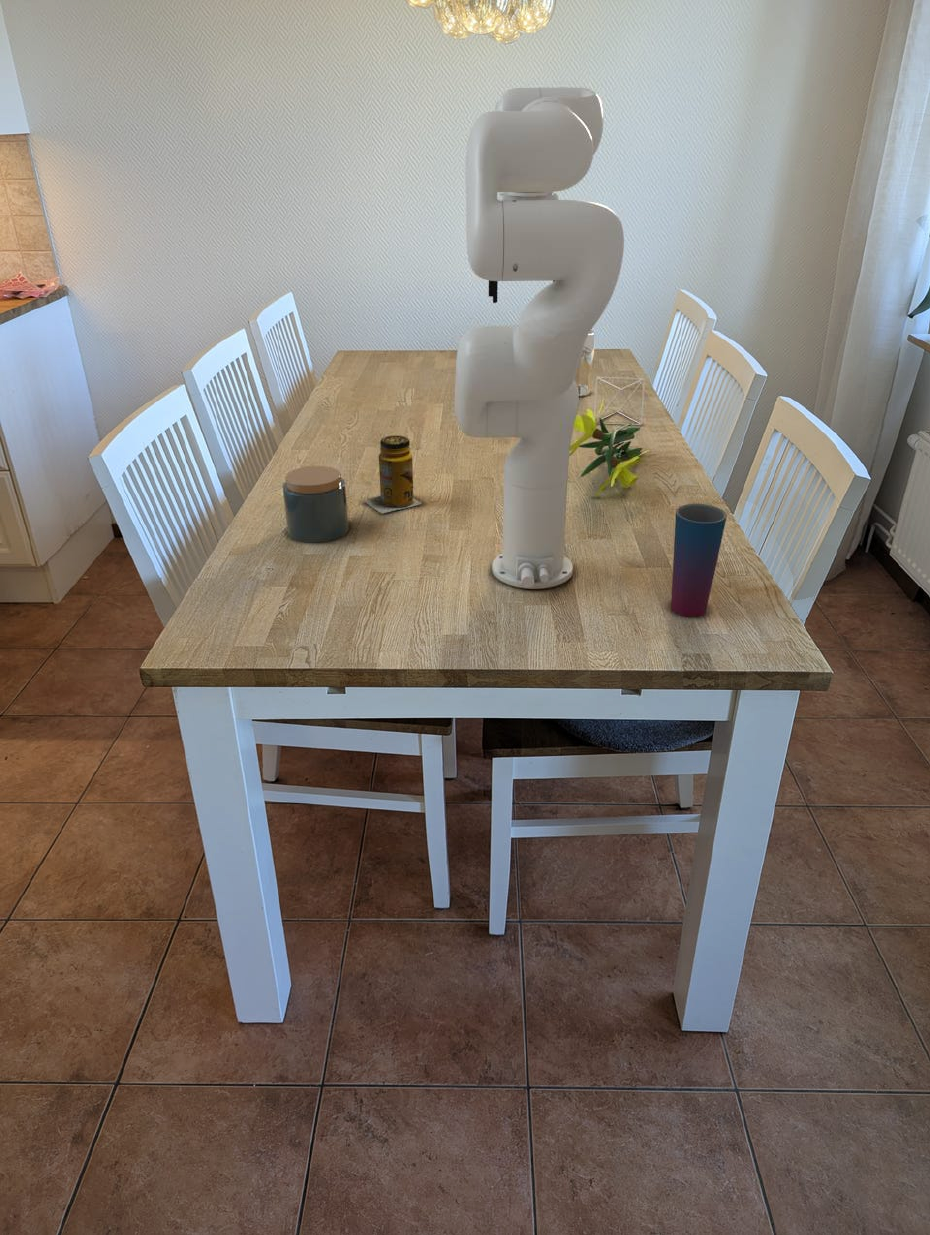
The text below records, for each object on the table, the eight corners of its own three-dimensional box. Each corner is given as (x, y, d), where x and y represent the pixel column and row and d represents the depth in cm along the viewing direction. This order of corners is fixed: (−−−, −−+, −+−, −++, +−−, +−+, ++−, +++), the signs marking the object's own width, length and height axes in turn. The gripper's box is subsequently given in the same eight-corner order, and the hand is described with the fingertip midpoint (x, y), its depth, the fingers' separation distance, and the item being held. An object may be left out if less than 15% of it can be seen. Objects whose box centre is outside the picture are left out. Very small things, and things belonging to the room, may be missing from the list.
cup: (678, 592, 137) (690, 499, 130) (720, 606, 134) (735, 511, 126) (656, 610, 133) (667, 514, 125) (699, 625, 129) (712, 527, 121)
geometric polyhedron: (653, 419, 211) (656, 380, 206) (629, 431, 203) (633, 390, 199) (606, 410, 218) (608, 371, 213) (581, 421, 210) (584, 381, 206)
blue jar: (344, 542, 153) (340, 486, 148) (282, 542, 153) (276, 486, 148) (351, 517, 162) (347, 464, 157) (293, 518, 162) (287, 464, 157)
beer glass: (558, 391, 231) (561, 330, 224) (582, 388, 234) (585, 327, 226) (572, 398, 226) (575, 336, 218) (596, 395, 228) (600, 333, 221)
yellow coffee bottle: (422, 504, 168) (421, 441, 162) (382, 514, 164) (378, 450, 158) (402, 491, 173) (400, 430, 167) (363, 501, 169) (359, 438, 163)
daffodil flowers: (677, 462, 188) (656, 475, 156) (613, 493, 194) (579, 512, 162) (643, 387, 187) (614, 385, 155) (579, 420, 193) (538, 425, 161)
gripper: (470, 186, 135) (470, 306, 144) (587, 186, 135) (581, 306, 143) (471, 181, 142) (471, 296, 150) (583, 181, 141) (577, 296, 150)
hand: (525, 301), depth 147 cm, fingers open, 9 cm apart
